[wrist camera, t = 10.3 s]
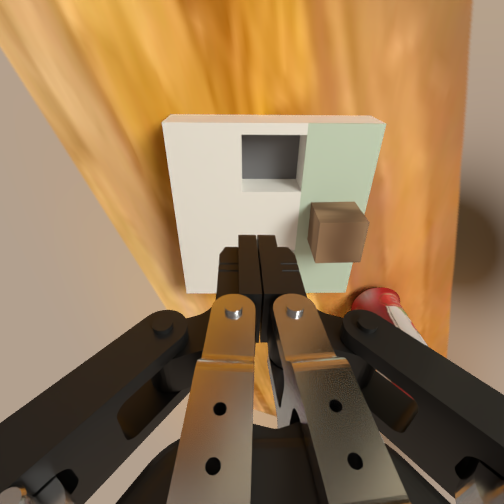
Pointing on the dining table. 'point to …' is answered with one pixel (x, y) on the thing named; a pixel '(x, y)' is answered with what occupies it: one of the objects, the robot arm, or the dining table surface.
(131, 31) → the dining table surface
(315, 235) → the walnut block
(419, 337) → the liquor
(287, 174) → the trap plank
